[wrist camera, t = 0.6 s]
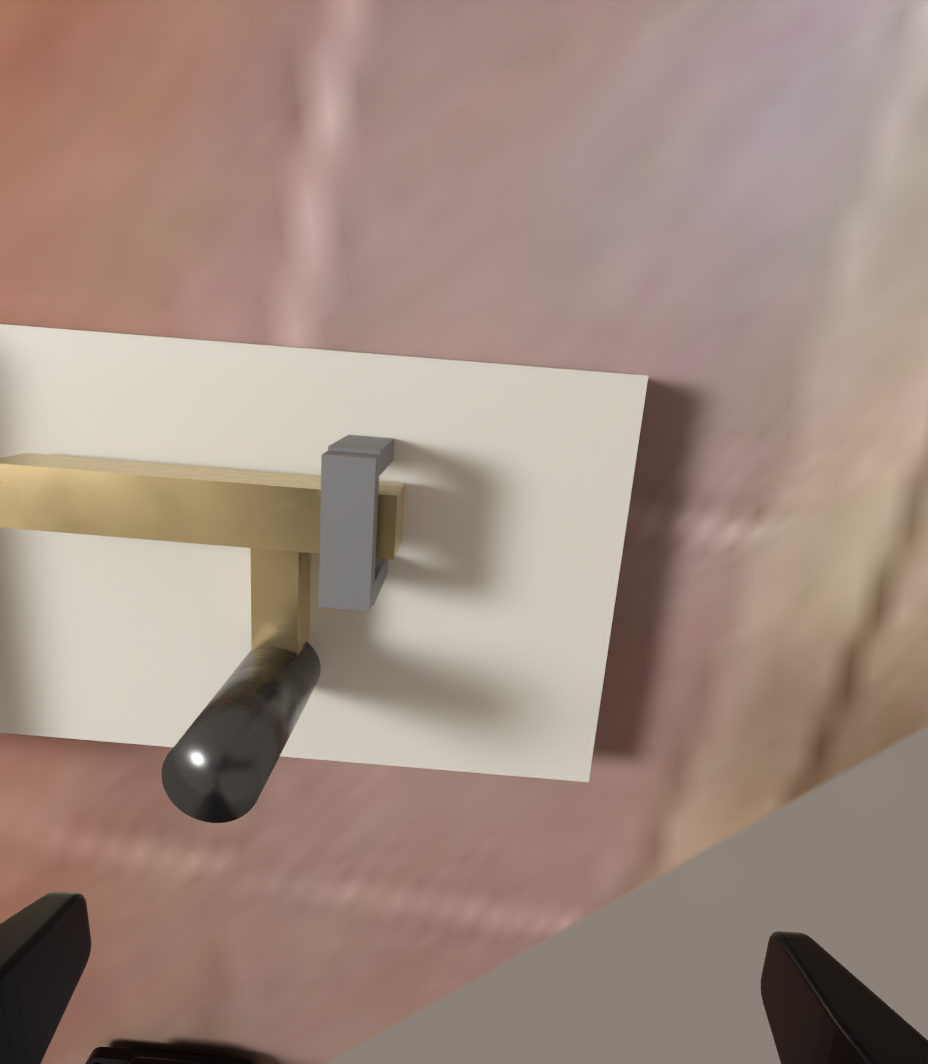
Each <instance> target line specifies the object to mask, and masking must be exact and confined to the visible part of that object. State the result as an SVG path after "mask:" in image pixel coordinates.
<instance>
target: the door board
mask: <svg viewBox="0 0 928 1064" xmlns="http://www.w3.org/2000/svg"><path fill="white" fill-rule="evenodd" d="M647 382H648V376H645V375H635V374H623V373H611V372H598V371H586V370H573V369H560V368H548V367H535V366H523V365H510V364H498V363H485V362H473V361H460V360H447V359H435V358H422V357H410V356H397V355H385V354H372V353H360V352H347V351H334V350H322V349H309V348H297V347H284V346H272V345H259V344H247V343H234V342H221V341H209V340H196V339H184V338H171V337H159V336H146V335H134V334H121V333H108V332H96V331H83V330H71V329H58V328H46V327H33V326H21V325H8V324H0V458H3V457H8V456H13V455H17V454H22V453H37V454H50V455H62V456H74V457H87V458H99V459H111V460H124V461H136V462H148V463H161V464H173V465H185V466H198V467H210V468H222V469H235V470H247V471H259V472H272V473H284V474H296V475H309V476H321V509H320V554H318V553H311V575H310V640H309V642H308V643H309V644H310V645H311V646H312V647H313V648H314V650H315V651H316V653H317V655H318V657H319V660H320V665H321V672H320V677H319V680H318V682H317V684H316V686H315V688H314V690H313V692H312V694H311V696H310V698H309V700H308V702H307V704H306V706H305V707H304V709H303V711H302V713H301V715H300V717H299V719H298V721H297V723H296V725H295V727H294V729H293V731H292V733H291V735H290V737H289V739H288V741H287V743H286V745H285V747H284V749H283V751H282V752H281V754H280V756H284V757H296V758H308V759H320V760H332V761H344V762H355V763H367V764H379V765H391V766H403V767H415V768H427V769H439V770H450V771H462V772H474V773H486V774H498V775H510V776H522V777H534V778H546V779H557V780H569V781H581V782H589V776H590V769H591V762H592V755H593V749H594V742H595V735H596V728H597V721H598V715H599V708H600V701H601V694H602V688H603V681H604V674H605V667H606V660H607V654H608V647H609V640H610V633H611V627H612V620H613V613H614V606H615V599H616V593H617V586H618V579H619V572H620V565H621V559H622V552H623V545H624V538H625V532H626V525H627V518H628V511H629V504H630V498H631V491H632V484H633V477H634V471H635V464H636V457H637V450H638V443H639V437H640V430H641V423H642V416H643V409H644V403H645V396H646V389H647ZM379 481H383V482H395V483H405V494H404V513H403V531H402V543H401V545H400V547H399V550H398V552H397V554H396V556H395V559H394V560H391V559H379V558H376V538H377V515H378V492H379ZM251 649H252V646H251V548H244V547H232V546H220V545H208V544H195V543H183V542H171V541H159V540H147V539H134V538H122V537H110V536H98V535H85V534H73V533H61V532H49V531H37V530H24V529H12V528H0V733H11V734H23V735H34V736H46V737H58V738H70V739H82V740H94V741H106V742H118V743H130V744H141V745H153V746H165V747H174V746H175V745H176V744H177V742H178V741H179V740H180V739H181V737H182V736H183V735H184V734H185V732H186V731H187V730H188V729H189V727H190V726H191V725H192V723H193V722H194V721H195V720H196V718H197V717H198V716H199V715H200V713H201V712H202V711H203V710H204V708H205V707H206V706H207V705H208V703H209V702H210V701H211V700H212V698H213V697H214V696H215V695H216V693H217V692H218V691H219V690H220V688H221V687H222V686H223V685H224V683H225V682H226V681H227V680H228V678H229V677H230V676H231V674H232V673H233V672H234V671H235V669H236V668H237V667H238V666H239V664H240V663H241V662H242V661H243V659H244V658H245V657H246V656H247V654H248V653H249V652H250V651H251Z"/></svg>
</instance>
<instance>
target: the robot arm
mask: <svg viewBox="0 0 928 1064" xmlns="http://www.w3.org/2000/svg"><path fill="white" fill-rule="evenodd" d="M90 951H91V936H90V928H89V920H88V912H87V905H86V900H85V898H84V896H83V895H82V894H79V893H67V892H52V893H49V894H47V895H45V896H43V897H41V898H40V899H38V900H37V901H35V902H34V903H32V904H30V905H29V906H27V907H26V908H24V909H23V910H21V911H20V912H18V913H17V914H15V915H14V916H12V917H10V918H9V919H7V920H6V921H4V922H3V923H1V924H0V1064H40V1063H41V1061H42V1059H43V1057H44V1055H45V1053H46V1050H47V1048H48V1046H49V1044H50V1042H51V1040H52V1038H53V1035H54V1033H55V1031H56V1029H57V1027H58V1025H59V1022H60V1020H61V1018H62V1016H63V1014H64V1012H65V1010H66V1007H67V1005H68V1003H69V1001H70V999H71V997H72V994H73V992H74V990H75V988H76V986H77V984H78V982H79V979H80V977H81V975H82V973H83V971H84V969H85V966H86V964H87V962H88V958H89V955H90ZM761 995H762V999H763V1004H764V1007H765V1011H766V1014H767V1017H768V1021H769V1024H770V1028H771V1031H772V1034H773V1037H774V1041H775V1044H776V1048H777V1051H778V1055H779V1058H780V1061H781V1064H928V1040H927V1039H926V1038H924V1037H923V1036H922V1035H921V1034H920V1033H919V1032H917V1031H916V1030H915V1029H914V1028H913V1027H912V1026H911V1025H910V1024H908V1023H907V1022H906V1021H905V1020H904V1019H903V1018H902V1017H900V1016H899V1015H898V1014H897V1013H896V1012H895V1011H894V1010H893V1009H891V1008H890V1007H889V1006H888V1005H887V1004H886V1003H885V1002H883V1001H882V1000H881V999H880V998H879V997H878V996H877V995H875V994H874V993H873V992H872V991H871V990H870V989H868V988H867V987H866V986H865V985H864V984H863V983H862V982H861V981H860V980H858V979H857V978H856V977H855V976H854V975H853V974H852V973H850V972H849V971H848V970H847V969H846V968H845V967H844V966H842V965H841V964H840V963H839V962H838V961H837V960H836V959H834V958H833V957H832V956H831V955H830V954H828V952H826V951H825V950H824V949H823V948H822V947H821V946H820V945H819V944H817V943H816V942H815V941H814V940H813V939H812V938H810V937H809V936H807V935H806V934H803V933H795V932H774V933H773V934H772V935H771V936H770V939H769V942H768V947H767V952H766V957H765V962H764V967H763V972H762V977H761ZM86 1064H254V1063H253V1062H251V1061H249V1060H245V1059H236V1058H224V1057H213V1056H201V1055H190V1054H179V1053H167V1052H156V1051H144V1050H133V1049H121V1048H110V1047H98V1048H96V1049H94V1050H93V1051H92V1053H91V1055H90V1057H89V1058H88V1060H87V1062H86Z"/></svg>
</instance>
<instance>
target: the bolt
mask: <svg viewBox="0 0 928 1064" xmlns="http://www.w3.org/2000/svg"><path fill="white" fill-rule="evenodd" d="M404 494H405V483H395V482H383V481H379V492H378V515H377V538H376V558H379V559H391V560H394V559H395V556H396V554H397V552H398V550H399V547H400V545H401V543H402V531H403V513H404ZM320 509H321V476H309V475H296V474H284V473H272V472H259V471H247V470H235V469H222V468H210V467H198V466H185V465H173V464H161V463H148V462H136V461H124V460H111V459H99V458H87V457H74V456H62V455H50V454H37V453H22V454H17V455H13V456H8V457H3V458H0V528H12V529H24V530H37V531H49V532H61V533H73V534H85V535H98V536H110V537H122V538H134V539H147V540H159V541H171V542H183V543H195V544H208V545H220V546H232V547H244V548H251V646H252V649H251V651H250V652H249V653H248V654H247V656H246V657H245V658H244V659H243V661H242V662H241V663H240V664H239V666H238V667H237V668H236V669H235V671H234V672H233V673H232V674H231V676H230V677H229V678H228V680H227V681H226V682H225V683H224V685H223V686H222V687H221V688H220V690H219V691H218V692H217V693H216V695H215V696H214V697H213V698H212V700H211V701H210V702H209V703H208V705H207V706H206V707H205V708H204V710H203V711H202V712H201V713H200V715H199V716H198V717H197V718H196V720H195V721H194V722H193V723H192V725H191V726H190V727H189V729H188V730H187V731H186V732H185V734H184V735H183V736H182V737H181V739H180V740H179V741H178V742H177V744H176V745H175V746H174V747H173V749H172V750H171V751H170V752H169V754H168V755H167V757H166V759H165V761H164V764H163V767H162V782H163V786H164V789H165V791H166V793H167V795H168V797H169V798H170V800H171V801H172V802H173V803H174V805H175V806H176V807H177V808H179V809H180V810H181V811H182V812H184V813H185V814H187V815H189V816H191V817H193V818H195V819H198V820H201V821H205V822H211V823H222V822H229V821H232V820H235V819H238V818H240V817H242V816H243V815H245V814H246V813H247V812H248V811H250V810H251V808H252V807H253V806H254V805H255V803H256V801H257V799H258V797H259V795H260V794H261V792H262V790H263V788H264V786H265V784H266V782H267V780H268V778H269V776H270V774H271V772H272V770H273V768H274V766H275V764H276V762H277V760H278V758H279V756H280V754H281V752H282V751H283V749H284V747H285V745H286V743H287V741H288V739H289V737H290V735H291V733H292V731H293V729H294V727H295V725H296V723H297V721H298V719H299V717H300V715H301V713H302V711H303V709H304V707H305V706H306V704H307V702H308V700H309V698H310V696H311V694H312V692H313V690H314V688H315V686H316V684H317V682H318V680H319V677H320V672H321V665H320V660H319V657H318V655H317V653H316V651H315V650H314V648H313V647H312V646H311V645H310V644H309V643H308V642H309V640H310V575H311V553H318V554H320Z"/></svg>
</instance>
